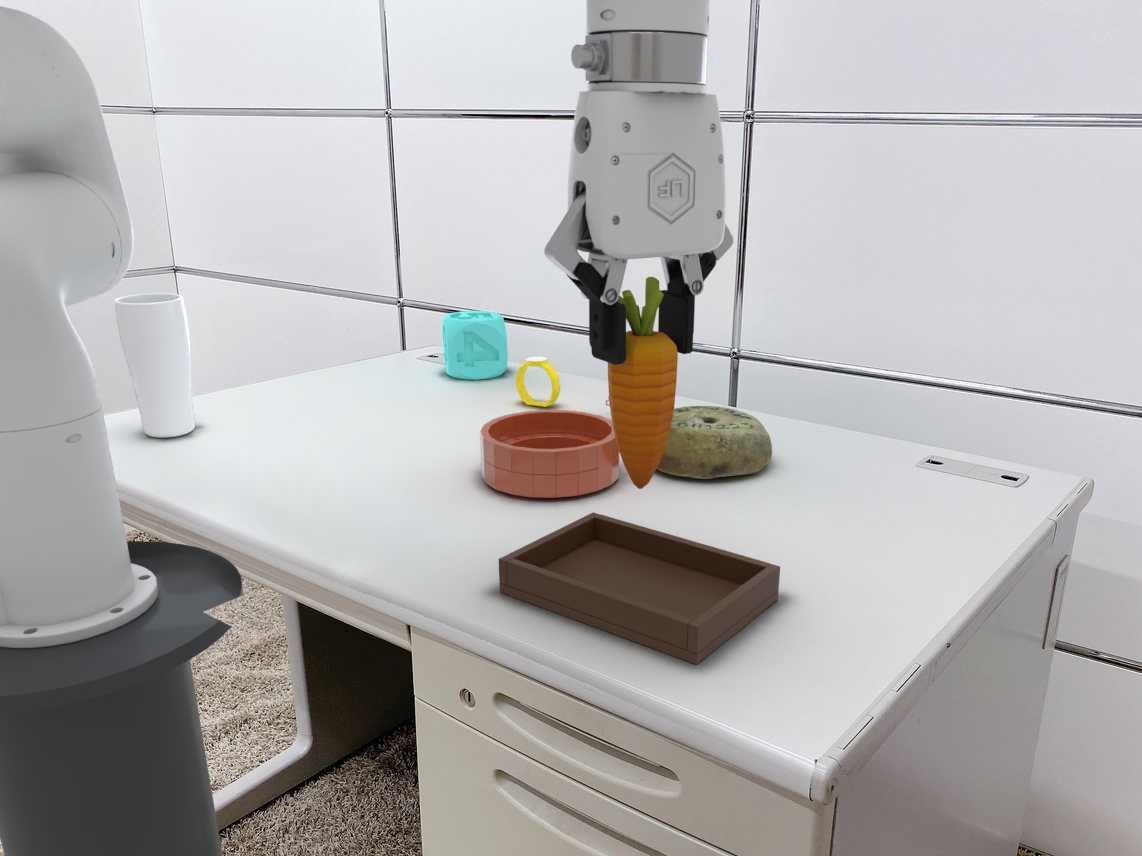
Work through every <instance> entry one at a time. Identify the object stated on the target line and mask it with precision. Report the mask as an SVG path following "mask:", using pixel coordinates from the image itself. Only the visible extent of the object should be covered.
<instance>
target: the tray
mask: <svg viewBox="0 0 1142 856" xmlns="http://www.w3.org/2000/svg"><path fill="white" fill-rule="evenodd" d="M498 576H499V577H498V579H499V583H498V584H499V593H501V594H504V595H507V596H509V597H512V598H515V599H518V600H520V601H523V602H526V603H529V604H531V605H534V606H536V607H539V608H541V609H544V610H547V611H549V612H553V613H555V614H558V615H561V616H563V617H566V618H568V619H572V620H574V621H577V622H580V623H583V624H585V625H588V626H591V627H594V628H596V629H599V630H600V631H601V630H602V631H603V632H607V633H610V634H613V635H615V636H617V637H621V638H623V639H626V640H629V641H630V642H635V643H637V644H640V645H642V646H645V647H648V648H651V649H653V650H655V651H658V652H662V653H664V654H666V655H670V656H672V657H675V658H677V659H680V660H683V661H686V662H688V663H691V664H693V665H694V664H695V665H698V664H699V663H700V662H702V661H703V660H704V659H705V658H707V657H708V656H709V655H711V654H712V653H713V652H714V651H715V650H717V649H718V648H720V646H722V645H723V644H724V643H726V642H727V641H728V640H729V639H731V638H732V637H733V636H734V635H736V634H737V633H738V632H739V631H741V630H743V628H745V627H746V626H747V625H748V624H749V623H751V622H752V621H753V620H755V619H756V618H757V617H758V616H760V615H761V614H762V613H763V612H765V611H766V610H767V609H768V608H769V607H771V606H772V605H773V604H775V603H776V602H777V601H779V593H780V591H779V590H780V589H779V588H780V577H781V566H780V565H776V564H773V563H770V562H767V561H763V560H760V559H757V558H753V557H751V556H750V557H749V556H746V555H742V554H739V553H736V552H732V551H729V550H725V549H723V548H718V547H714V546H712V545H708V544H705V543H701V542H699V541H694V540H691V539H687V538H684V537H680V536H677V535H674V534H670V533H666V532H664V531H660V530H656V529H654V528H649V527H646V526H642V525H638V524H637V523H636V524H635V523H633V522H632V523H631V522H628V521H626V520H622V519H618V518H614V517H611V516H608V515H605V514H601V513H596V512H591V513H588V514H586V515H585V516H583V517H581V518H578V519H576V520H575V521H572V522H570V523H568V524H566V525H565V526H562V527H561V528H558V529H556V530H554V531H552V532H550V533H548V534H546V535H545V536H542V537H540V538H537V539H536V540H533V541H532V542H530V543H528V544H526V545H524V546H522V547H520V548H518V549H516V550H514V551H512V552H510V553H508V554H505V555H504V556H501V557H499V558H498Z"/></svg>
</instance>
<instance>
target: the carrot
mask: <svg viewBox="0 0 1142 856" xmlns="http://www.w3.org/2000/svg"><path fill="white" fill-rule="evenodd" d="M644 287H645V289H644V291H645V292H644V297H645V299H644V301H645V302H644V306H642V308H641V311H640V306H639V304H637V300H636V298H635V296H634V294H633V292H632V291H631V289H625V290H623V291H621V294H622V295H619V298H618V303H621V304H625V307H626V322H627V323H628V326H629V328H630V330H626V360H625V361H624V362H623V364H617V365H614V364H611V363H609V362H607V383H608V396H609V401H608V405H610V406H609V410H610V416H611V420H612V423H613V428H614V433H615V438H616V443H617V447H618V450H619V456H620V458H621V461H622V464H623V466H624V468H625V470H626V472H627V474H628V477H629V478H630V480H631V483H632V484H633V485H634V486H635V487H636V488H637V489H638V490H642V489H644V488H645V487H646V486H647V485H649V483H650V482H651V480H652V478H653V476H654V475H655V472H656V471H657V467H658V465H659V463H660V461H661V458H662V456H663V453H664V451H665V448H666V444H667V440H668V436H669V432H670V427H671V422H672V417H673V412H674V409H675V405H676V404H675V402H676V393H677V378H678V377H677V376H678V360H679V353H678V352H677V347H676V345H675V343H674V342H673V341H672V340H671V339H670V338H669V337H668V336H667V335H666V334H664V333H662V332H658V331H656V330H654V326H655V321H656V317H657V311H658V310H659V305H660V303H661V301H662V298H663V296H664V295H663V293H662V292H661V290H662V289H660V280H659V279H658V278H656V277H654V276H648V277H646V278H645V286H644Z"/></svg>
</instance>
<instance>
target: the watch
mask: <svg viewBox="0 0 1142 856" xmlns="http://www.w3.org/2000/svg"><path fill="white" fill-rule="evenodd" d="M529 367H540V368H541V369H543V370H544V371H545V372H546V374H547V375H548V377H549V379H550V383H551V384H550V385H551V394H550V397H549V399H548V400H546V401H540V400H535V399H533V397H532V396H531V395H530V394H529V393H528V390H527V388H526V385H525V374H526V372H527V369H528V368H529ZM515 387H516V391H517V393H518V396H519V397H520V399H521V400H522V401H523V402H524V403H525V404H526V405H527V406H535V407H542V408H546V407H550V406H552V405H553V404H554V403H555V402H556V401H557V400H558V398H559V396H560V392H561V388H562V387H561V381H560V377H559V374H558V372H557V371H556V369H555V367H554V366H553V365H552V364H550V363H549V360H548V357H546V356H530V357H526V358H525V359H524V363H522V364H521V365H520V366H519V367H518V370H517V372H516V373H515Z"/></svg>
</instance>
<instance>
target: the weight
mask: <svg viewBox="0 0 1142 856" xmlns="http://www.w3.org/2000/svg"><path fill="white" fill-rule="evenodd" d="M772 456H773V445H772V439H771V437H770V434H769V432H768V431H767V429H766V428H765V425H763V423H762V422H761V421H760V420H759V419H758V418H757V417H755V416H753V415H752V414H749V413H747V412H744V411H741V410H737V409H734V408H730V407H724V406H717V405H716V406H715V405H690V406H689V405H688V406H682V407H676V408H674V412H673V417H672V422H671V427H670V432H669V436H668V440H667V444H666V448H665V451H664V453H663V456H662V458H661V461H660V463H659V465H658V467H657V469H656V471H659V472H661V473H664V474H668V475H672V476H676V477H685V478H691V479H699V480H700V479H701V480H711V479H715V478H721V477H723V478H724V477H732V476H733V477H734V476H742V475H743V476H744V475H751V474H755V473H759V472H760V471H762V470H763V468H765V467H766V466H767V465H768V464H769V463H770V461H771V459H772Z"/></svg>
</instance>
